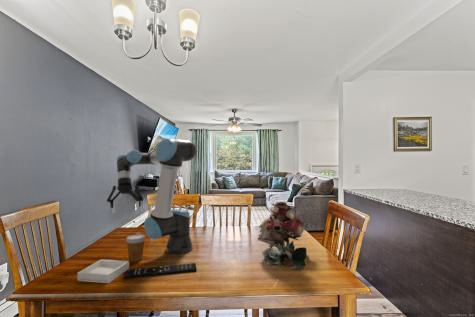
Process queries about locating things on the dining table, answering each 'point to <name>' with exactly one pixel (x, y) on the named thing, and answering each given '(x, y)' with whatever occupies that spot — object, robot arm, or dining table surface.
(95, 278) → the tray
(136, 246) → the disposable coffee cup
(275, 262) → the rose bouquet
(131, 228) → the dining table surface
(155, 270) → the remote control
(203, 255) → the dining table surface
